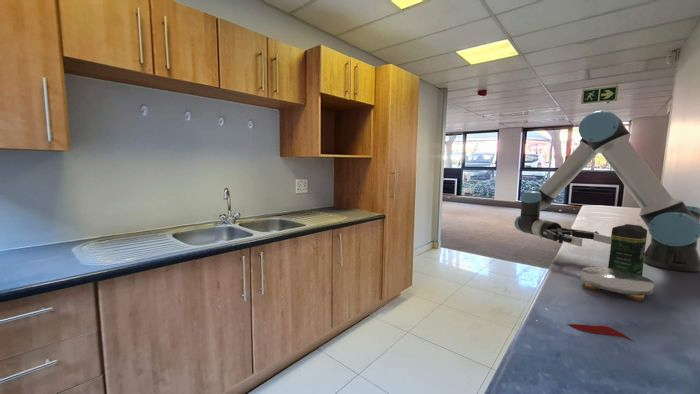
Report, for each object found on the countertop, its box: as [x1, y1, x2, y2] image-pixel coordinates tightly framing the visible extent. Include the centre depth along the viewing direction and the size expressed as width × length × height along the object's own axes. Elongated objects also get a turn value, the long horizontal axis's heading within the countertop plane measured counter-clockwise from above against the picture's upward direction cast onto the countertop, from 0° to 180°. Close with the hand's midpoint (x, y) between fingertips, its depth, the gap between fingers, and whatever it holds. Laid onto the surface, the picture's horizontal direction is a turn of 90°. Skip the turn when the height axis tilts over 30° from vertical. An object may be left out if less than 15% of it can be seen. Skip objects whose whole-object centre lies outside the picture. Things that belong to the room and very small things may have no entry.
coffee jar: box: [607, 223, 648, 276], centre depth 95 cm, size 10×8×19 cm
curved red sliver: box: [566, 323, 632, 341], centre depth 65 cm, size 12×5×2 cm, turn 46°
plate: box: [580, 266, 655, 302], centre depth 88 cm, size 16×16×4 cm
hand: (597, 241), depth 104 cm, fingers open, 13 cm apart
